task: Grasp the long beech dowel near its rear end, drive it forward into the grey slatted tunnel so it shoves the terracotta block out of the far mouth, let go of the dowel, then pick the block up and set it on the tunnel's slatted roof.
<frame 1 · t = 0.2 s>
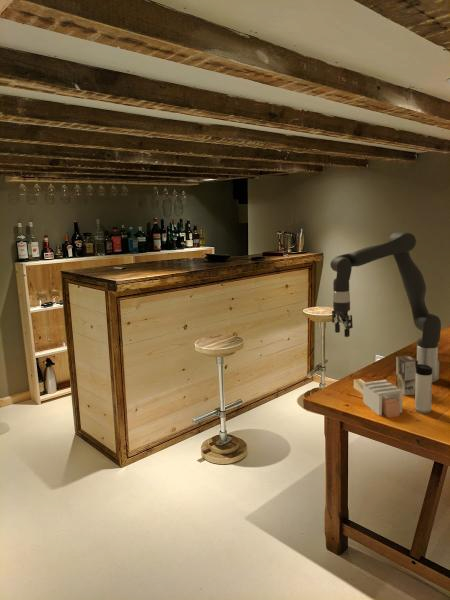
hand: (342, 334, 209), 28 cm above the table, fingers open, 8 cm apart
coffee box: (406, 391, 209), on the table
tunnel: (382, 407, 195), on the table
travel mug: (422, 410, 189), on the table
block: (390, 414, 188), on the table
rod: (370, 398, 205), on the table
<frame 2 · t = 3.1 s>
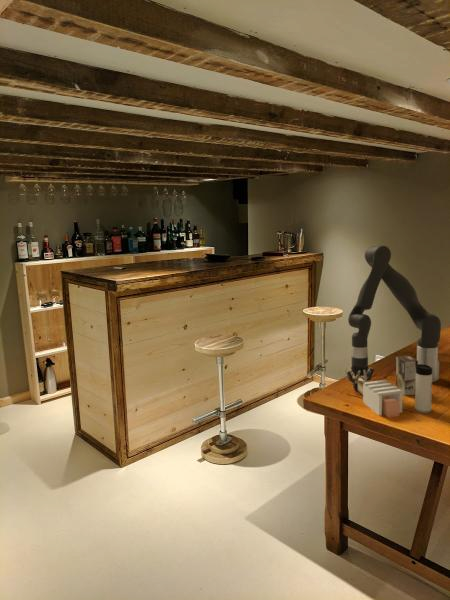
hand: (359, 389, 215), 0 cm above the table, fingers closed on rod, 3 cm apart
rod: (370, 396, 205), on the table, touching gripper
everything else where it was.
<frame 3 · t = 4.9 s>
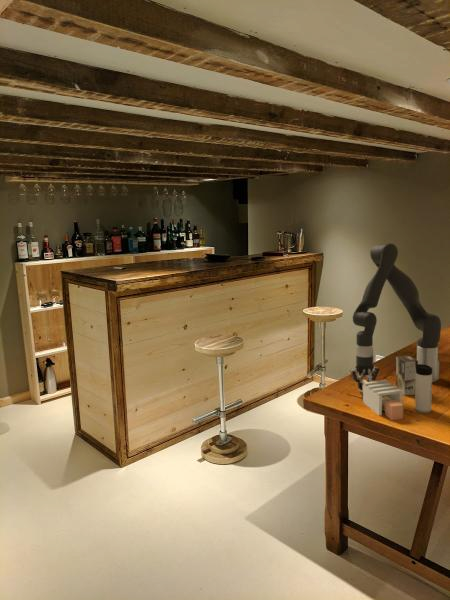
hand: (364, 389, 209), 2 cm above the table, fingers closed on rod, 3 cm apart
block: (394, 416, 185), on the table, touching rod
rod: (375, 400, 200), point 1 cm above the table, touching block, gripper
everything else where it was.
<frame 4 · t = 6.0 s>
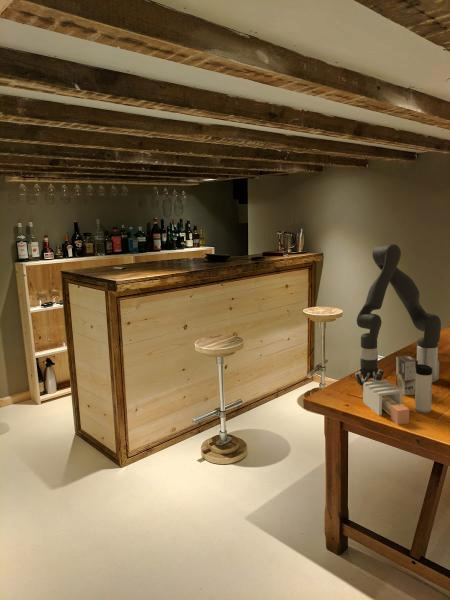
hand: (369, 392, 205), 2 cm above the table, fingers closed on rod, 3 cm apart
block: (399, 421, 181), on the table, touching rod
rod: (380, 403, 196), point 1 cm above the table, touching block, gripper
everything else where it was.
when the fingers open (1 cm above the table, at t = 7.0 s): rod stays where it is, on the table.
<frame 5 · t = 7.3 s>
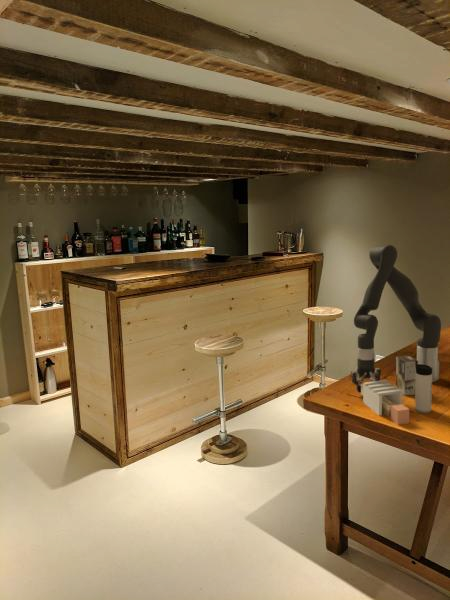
hand: (365, 391, 208), 2 cm above the table, fingers open, 6 cm apart
block: (399, 421, 181), on the table
rod: (377, 403, 199), on the table
everything else where it was.
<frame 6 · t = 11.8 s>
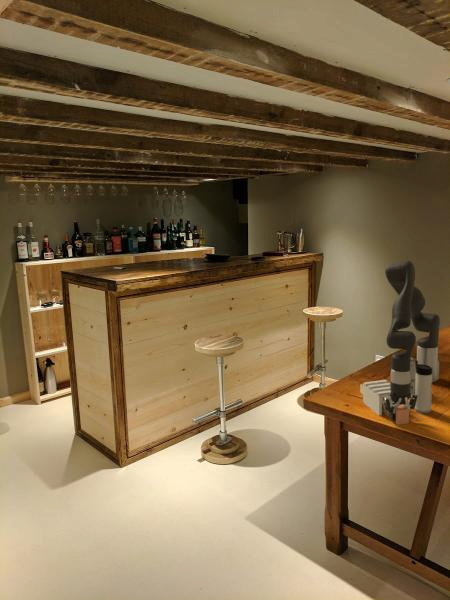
hand: (400, 419, 181), 1 cm above the table, fingers closed on block, 5 cm apart
block: (399, 421, 181), on the table, touching gripper
everything else where it was.
when the fingers open (11 cm above the table, at t = 16.1 s): block drops 1 cm, resting on tunnel.
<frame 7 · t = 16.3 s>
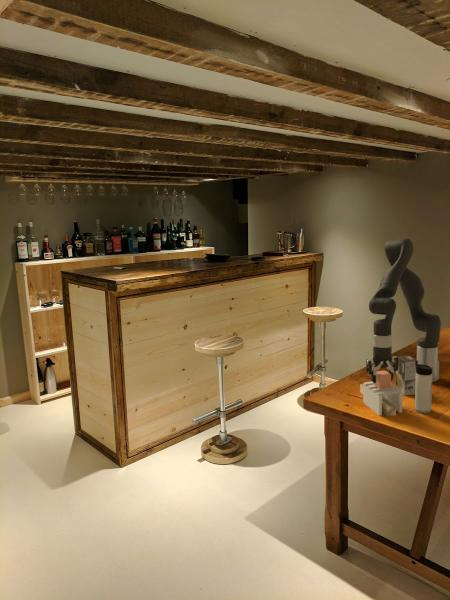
hand: (382, 381, 192), 12 cm above the table, fingers open, 7 cm apart
block: (382, 386, 193), point 9 cm above the table, touching tunnel
everything else where it was.
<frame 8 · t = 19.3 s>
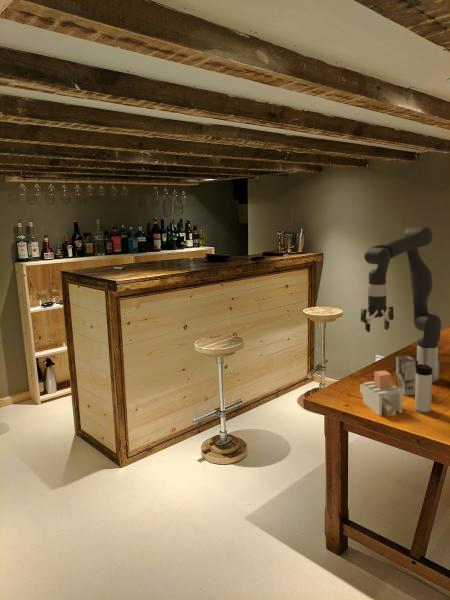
hand: (377, 330, 197), 32 cm above the table, fingers open, 8 cm apart
nothing on the table moved.
at the end: block inside the target area on the tunnel (0.3 cm from its centre), point 9.5 cm above the tunnel's base; block tilted 0°; the gripper is holding nothing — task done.
